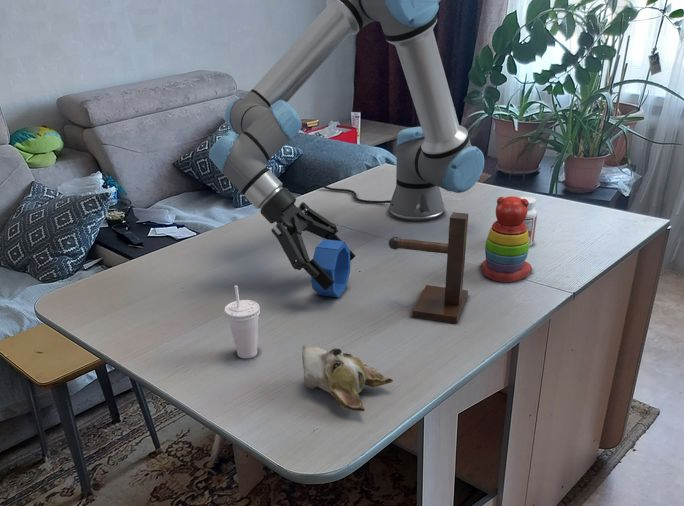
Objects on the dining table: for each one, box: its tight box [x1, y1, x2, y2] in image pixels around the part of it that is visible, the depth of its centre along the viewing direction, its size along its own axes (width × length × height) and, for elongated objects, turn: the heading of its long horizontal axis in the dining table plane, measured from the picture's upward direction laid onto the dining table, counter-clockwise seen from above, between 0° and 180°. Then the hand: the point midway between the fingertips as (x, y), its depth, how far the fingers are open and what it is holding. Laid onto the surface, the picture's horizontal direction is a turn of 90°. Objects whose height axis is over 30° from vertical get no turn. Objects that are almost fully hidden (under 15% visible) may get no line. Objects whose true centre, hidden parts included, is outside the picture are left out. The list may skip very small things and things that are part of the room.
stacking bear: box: [481, 196, 532, 283], centre depth 142 cm, size 11×10×18 cm
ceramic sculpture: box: [301, 344, 394, 412], centre depth 107 cm, size 11×9×15 cm
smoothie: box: [224, 285, 261, 359], centre depth 118 cm, size 6×6×14 cm
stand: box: [388, 211, 469, 324], centre depth 130 cm, size 16×12×20 cm
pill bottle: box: [519, 196, 538, 247], centre depth 158 cm, size 6×6×11 cm
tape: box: [310, 238, 351, 299], centre depth 139 cm, size 5×11×11 cm, turn 160°
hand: (341, 272), depth 138 cm, fingers open, 13 cm apart
